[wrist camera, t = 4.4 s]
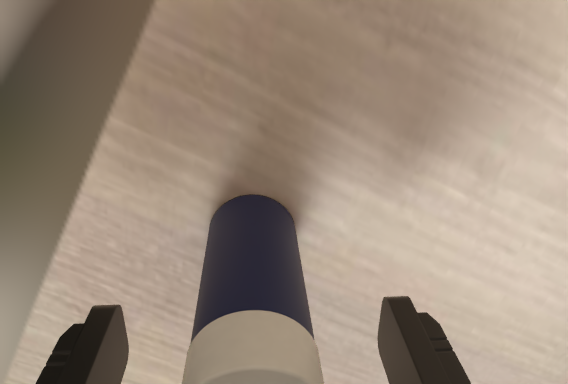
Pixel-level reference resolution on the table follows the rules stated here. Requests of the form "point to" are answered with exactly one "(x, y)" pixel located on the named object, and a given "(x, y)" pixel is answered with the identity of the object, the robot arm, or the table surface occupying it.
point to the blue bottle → (252, 301)
